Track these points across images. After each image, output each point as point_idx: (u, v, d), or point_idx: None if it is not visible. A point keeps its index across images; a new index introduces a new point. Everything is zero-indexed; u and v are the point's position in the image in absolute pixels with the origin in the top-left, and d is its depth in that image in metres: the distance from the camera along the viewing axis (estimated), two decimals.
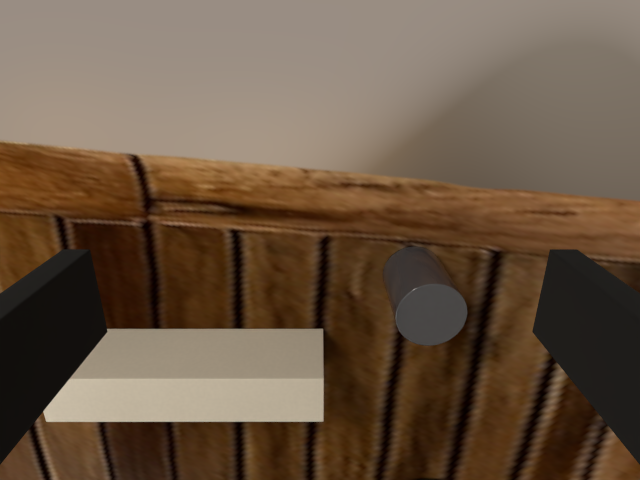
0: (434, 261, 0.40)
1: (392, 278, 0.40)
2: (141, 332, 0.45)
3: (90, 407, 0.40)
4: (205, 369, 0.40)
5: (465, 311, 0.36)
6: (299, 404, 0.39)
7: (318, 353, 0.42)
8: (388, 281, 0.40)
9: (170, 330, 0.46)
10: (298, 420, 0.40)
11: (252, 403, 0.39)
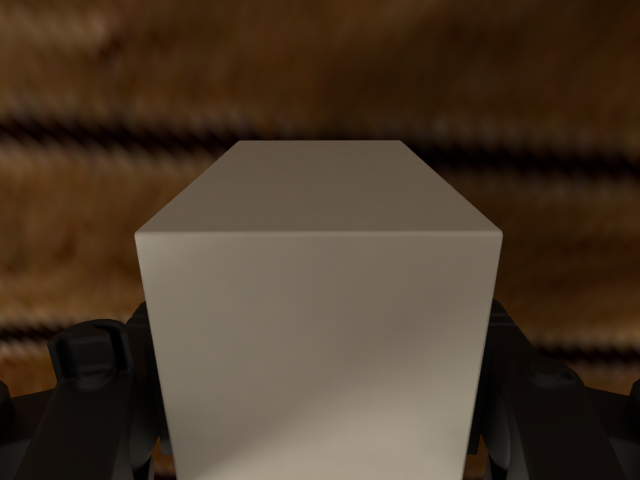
0: None
1: None
2: None
3: None
4: None
5: None
6: (345, 367, 0.07)
7: None
8: None
9: None
10: (469, 375, 0.07)
11: None
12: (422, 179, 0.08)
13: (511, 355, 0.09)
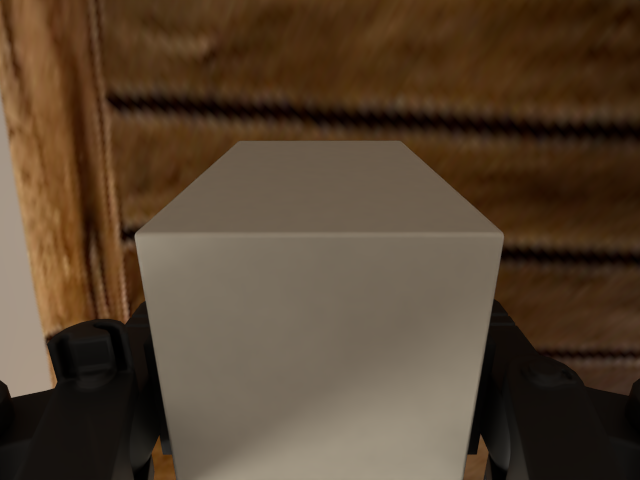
0: None
1: None
2: None
3: None
4: None
5: None
6: (346, 368, 0.07)
7: None
8: None
9: None
10: (470, 376, 0.07)
11: None
12: (423, 180, 0.08)
13: (511, 355, 0.09)
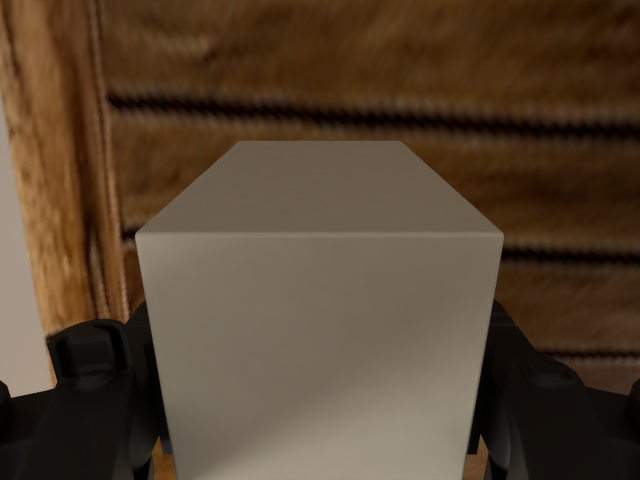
0: None
1: None
2: None
3: None
4: None
5: None
6: (346, 368, 0.07)
7: None
8: None
9: None
10: (470, 376, 0.07)
11: None
12: (423, 180, 0.08)
13: (511, 355, 0.09)
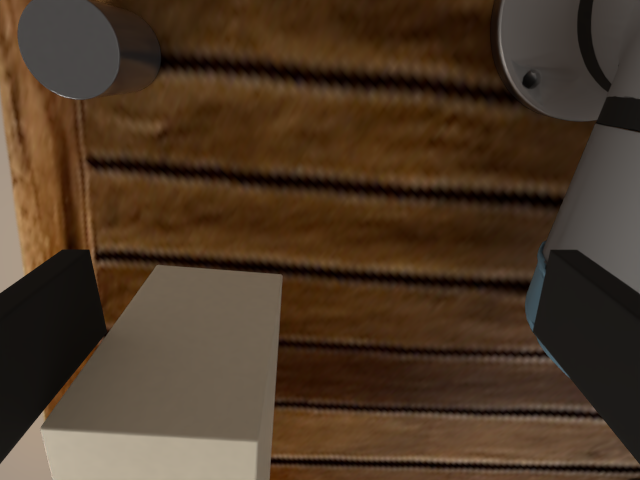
0: None
1: None
2: None
3: None
4: None
5: None
6: None
7: None
8: None
9: None
10: None
11: None
12: (255, 356, 0.13)
13: None
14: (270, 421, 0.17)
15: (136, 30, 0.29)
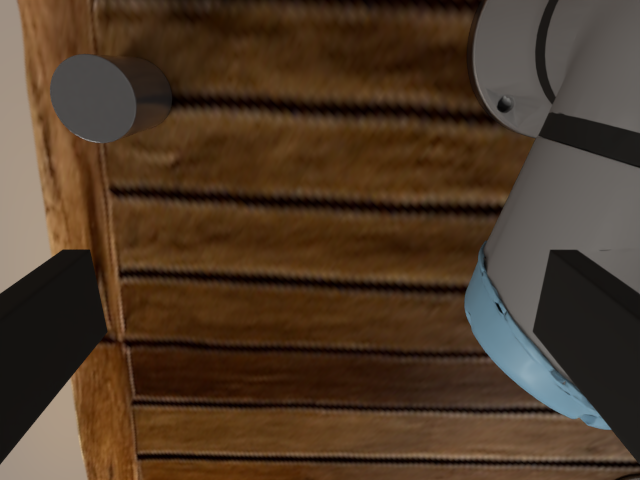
0: None
1: None
2: None
3: None
4: None
5: (79, 57, 0.29)
6: None
7: None
8: None
9: None
10: None
11: None
12: None
13: None
14: None
15: (149, 78, 0.34)
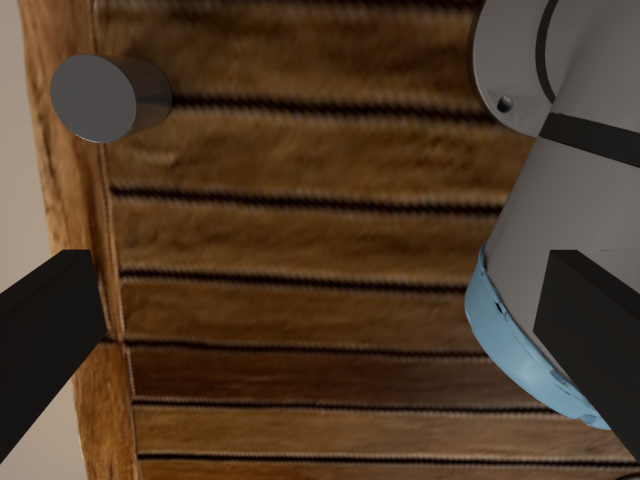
0: None
1: None
2: None
3: None
4: None
5: (79, 57, 0.29)
6: None
7: None
8: None
9: None
10: None
11: None
12: None
13: None
14: None
15: (149, 78, 0.34)
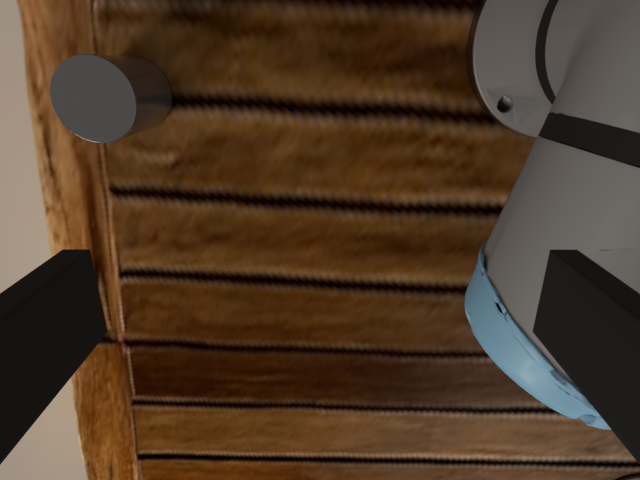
0: None
1: None
2: None
3: None
4: None
5: (79, 57, 0.29)
6: None
7: None
8: None
9: None
10: None
11: None
12: None
13: None
14: None
15: (149, 78, 0.34)
